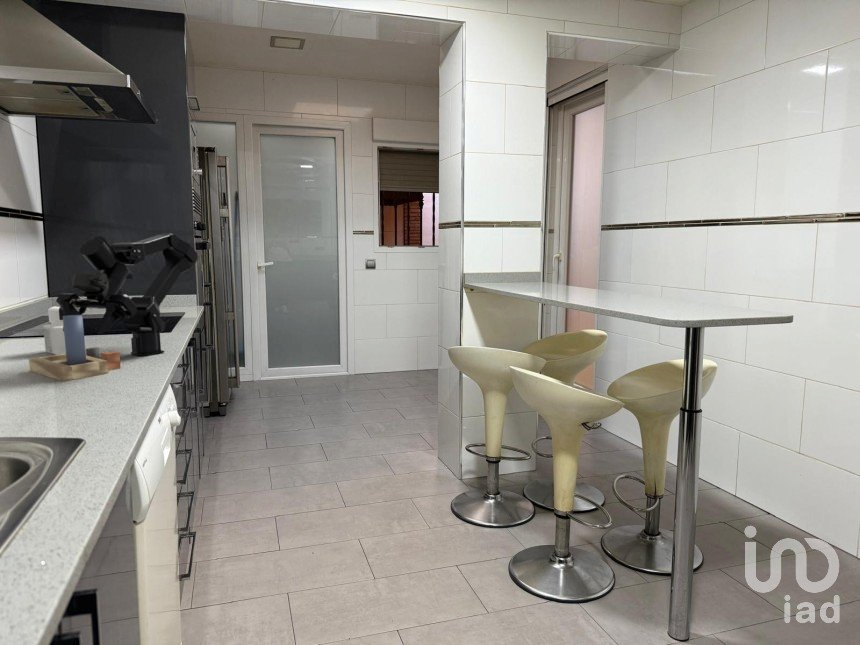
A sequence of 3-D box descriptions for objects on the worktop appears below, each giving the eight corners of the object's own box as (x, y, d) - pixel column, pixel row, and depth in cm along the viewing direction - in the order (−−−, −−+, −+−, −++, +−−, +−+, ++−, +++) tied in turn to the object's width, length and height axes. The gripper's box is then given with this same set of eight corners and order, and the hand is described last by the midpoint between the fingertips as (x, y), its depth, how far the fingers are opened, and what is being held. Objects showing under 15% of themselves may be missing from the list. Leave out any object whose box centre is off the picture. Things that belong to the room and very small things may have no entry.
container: (74, 348, 178) (70, 304, 176) (85, 351, 173) (81, 305, 171) (45, 352, 172) (40, 306, 170) (55, 355, 167) (51, 308, 165)
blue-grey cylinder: (85, 371, 147) (80, 314, 145) (89, 374, 144) (84, 316, 142) (66, 374, 144) (61, 315, 142) (69, 377, 141) (64, 317, 139)
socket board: (91, 360, 159) (90, 345, 159) (126, 369, 149) (125, 353, 148) (29, 370, 148) (28, 354, 147) (63, 381, 137) (62, 363, 137)
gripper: (57, 260, 149) (25, 311, 140) (125, 261, 146) (96, 313, 137) (84, 289, 158) (55, 338, 149) (148, 290, 155) (122, 341, 146)
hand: (81, 332), depth 145 cm, fingers open, 9 cm apart
